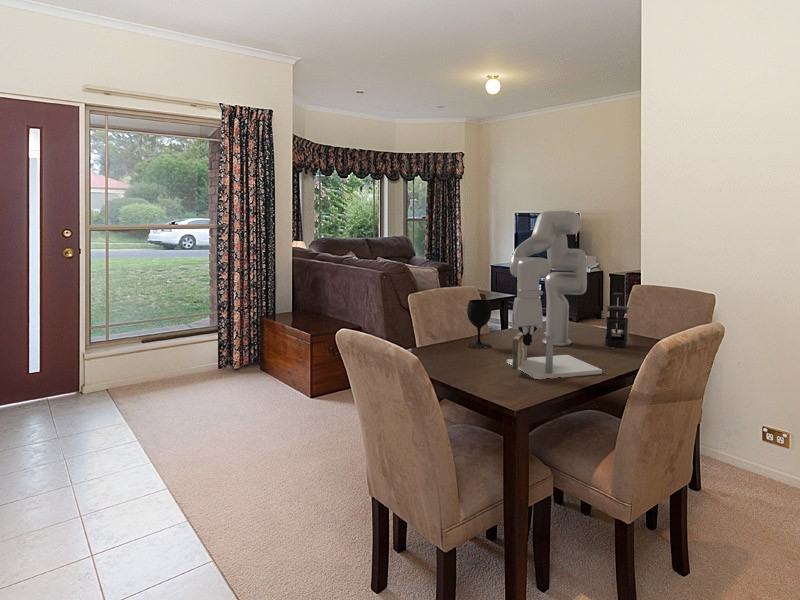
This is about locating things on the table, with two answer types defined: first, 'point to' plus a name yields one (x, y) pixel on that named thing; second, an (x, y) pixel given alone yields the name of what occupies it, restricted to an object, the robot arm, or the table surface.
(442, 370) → the table surface
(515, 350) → the beige wavy patterned slab
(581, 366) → the white base with posts
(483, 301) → the wine glass
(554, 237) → the robot arm
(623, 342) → the french press
